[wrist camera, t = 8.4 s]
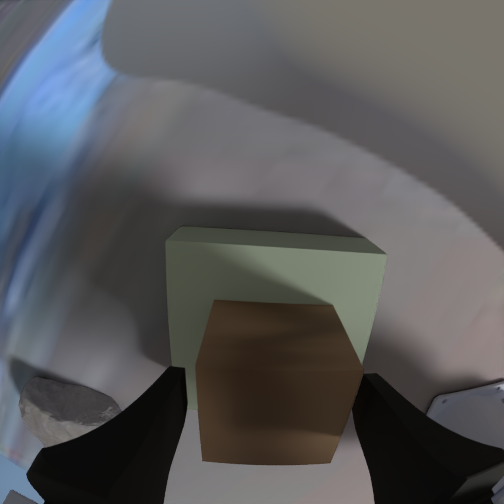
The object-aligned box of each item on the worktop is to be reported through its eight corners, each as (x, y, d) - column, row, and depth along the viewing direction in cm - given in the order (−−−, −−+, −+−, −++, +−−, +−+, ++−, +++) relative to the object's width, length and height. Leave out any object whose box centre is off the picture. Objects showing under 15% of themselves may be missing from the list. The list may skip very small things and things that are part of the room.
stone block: (129, 378, 22) (24, 368, 20) (121, 423, 17) (4, 405, 15) (150, 458, 26) (64, 448, 24) (150, 495, 21) (55, 482, 19)
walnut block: (333, 304, 14) (364, 369, 9) (315, 393, 16) (330, 463, 11) (214, 299, 14) (195, 365, 9) (214, 389, 16) (202, 461, 11)
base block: (366, 238, 16) (387, 254, 13) (336, 383, 19) (345, 414, 16) (180, 226, 16) (165, 240, 13) (185, 377, 19) (176, 407, 16)
